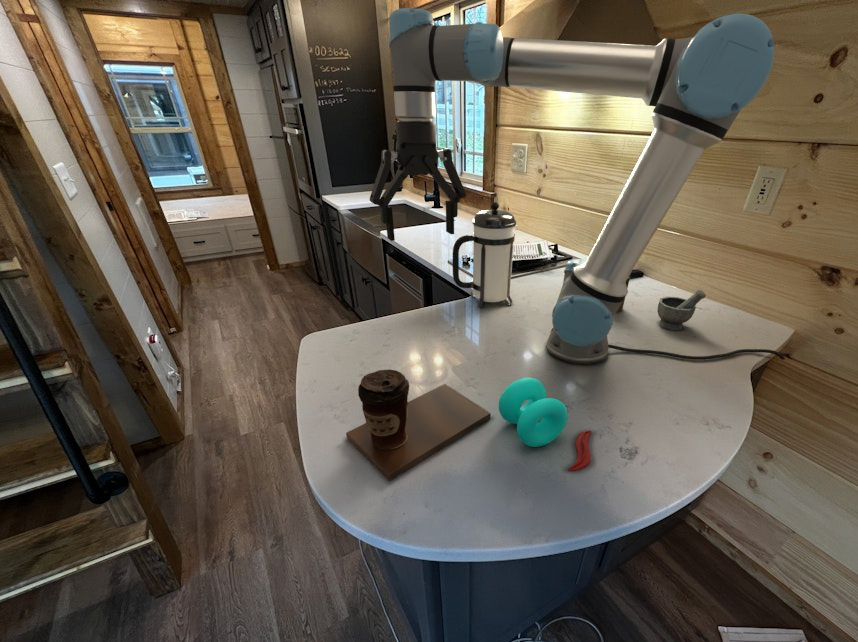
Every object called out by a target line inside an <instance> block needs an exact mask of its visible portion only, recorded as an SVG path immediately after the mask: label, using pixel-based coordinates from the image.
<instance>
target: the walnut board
mask: <svg viewBox="0 0 858 642" xmlns="http://www.w3.org/2000/svg"><path fill="white" fill-rule="evenodd" d="M407 402H408V418H407V420H406V426H405V431H406V433H407V436H408V437H407V440H406V442H405V444H403V445H401V446H399V447H398V448H393V449H380V448H378V447H376V446H374V445H373V443H372V439H371V432H370V431H369V430H368V428H367V425H366V422H365V423H363V424H361V425H359V426H357V427H355V428H353V429H351V430H348V431H347V432H345V434H346V439H347V440H348V441H349V442H350V443H351V444H352V445H353V447H355V449H356V450H358V451H359V452H360V453H361V454H362V455H363V457H365V458H366V460H368V461H369V462H370V463H371V464H372V465H373V466H374V467H375V468H376V469H377V470H378V471H379V472H380V473H381V474H382V475H383V477H385V478H386V479H387V480H388V481H392V480H393V479H395V478H396V477H399V476H400V475H401V474H404V473H405V472H407V471H408V470H410V469H411V468H413V467H415V466H416V465H418V464H419V463H422V462H423V461H424V460H426V459H427V458H430V457H431V456H432V455H434V454H436V453H437V452H439V451H441V450H442V449H444V448H445V447H447V446H448V445H450V444H451V443H453V442H455V441H457V440H458V439H461V438H462V437H463V436H465V435H467V434H468V433H469V432H471V431H474V430H475V429H477V428H479V426H481V425H483V424H484V423H486V422H488V421H489V420H491V412H490V411H488V410H486V409H485V408H484V407H482V406H480V404H477V403H475V402H474V401H473V400H471V399H470V398H468V397H466V396H465V395H463V394H462V393H461V392H458V391H457V390H455V389H454V388H452V387H451V386H449V385H447V383H444V384H441V385H439V386H437V387H436V388H433V389H431V390H430V391H427V392H425V393H424V394H422V395H419V396H417V397H415V398H413V399H411V400H409V401H407Z"/></svg>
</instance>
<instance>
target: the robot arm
mask: <svg viewBox="0 0 858 642" xmlns="http://www.w3.org/2000/svg"><path fill="white" fill-rule="evenodd" d="M388 19H389V20H388V23H389V24H388V25H389V27H388V28H389V30H388V31H389V42H388V45H389V47H388V48H389V50H390V59H391V61H390V62H391V73H392V83H393V87H392V88H393V89H392V90H393V102H394V115H395V117H396V119H397V118H398V121H396V123H395V131H396V145H397V148H396V151H390V150H388V149H383V150H381V163H380V165H379V168H378V172H377V175H376V178H375V181H374V183H373V187H372V190H371V193H370V196H369V202H371V203H372V204H373V205H376V206H379V213H380V221H381V223H383V224H384V225H385V226H386V236H387V239H388V240H389V241H391V242H394V241H396V237H395V227H394V216H393V215H394V214H393V207H392V206H391V205H389V204H390V203H391V202H392V199H394V197H395V195H396V193H397V192H398V190H399V189H400V188H401V186H402V185H403V183H404V182H405V180H406V179H407V178H408V177H409V175H410V176H412V177H417V176H419V175H421V176H428V175H430V176H431V177H432V179H433V180H434V181H435V183H436V184H437V185H438V186H439V187H440V189H441V190H442V191H443V193H444V194H445V195H446V196H447V198H448V199H449V200H445V232H446V233H448V234H449V235H455V218H458V214H459V212H458V211H459V210H458V209H459V207H458V205H459V202H460V201H461V199H465V198H466V197H467V192H466V190H465V188H464V186H463V183H462V181H461V179H460V178H461V177H460V176H459V173H458V171H457V169H456V166H455V163H454V162H453V153H452V150H451V149H450V148H446V147H445V148H442V149H440V150H438V149H437V124H436V123H435V121H433V120H434V119H435V118H436V115H437V114H436V113H437V112H436V93H435V92H436V81H437V82H444V81H445V82H468V83H472V84H479V85H480V86H483V87H488V88H494V87H500V88H501V87H502V88H516V89H528V90H529V89H530V90H540V91H552V92H562V93H575V94H587V95H597V96H609V97H620V98H631V99H641V100H642V101H643V102H644V104H645V105H646V106H647V107H654V109H653V110H652V113H651V115H650V116H651V119H652V123H653V131H652V133H651V135H650V137H649V139H648V141H647V143H646V145H645V147H644V149H643V151H642V153H641V154H640V156H639V158H638V160H637V162H636V164H635V166H634V168H633V170H632V172H631V174H630V176H629V177H628V179H627V181H626V183H625V184H624V187H623V189H622V192H621V193H620V195H619V197H618V198H617V201H616V202H615V204H614V206H613V208H612V210H611V212H610V214H609V216H608V218H607V220H606V222H605V224H604V225H603V227H602V230H601V232H600V233H599V236H598V238H597V239H596V241H595V243H594V245H593V248H592V249H591V251H590V253H589V255H588V256H587V258H574V259H570V260H568V261H567V262H566V264H565V269H564V270H563V273H564V274H563V280H562V287H561V289H560V292H559V295H558V298H557V300H556V303H555V305H554V306H553V309H552V314H551V324H552V328H551V329H550V333H549V335H548V338H547V342H546V349H547V351H548V352H549V353H550V354H551V355H552V356H553V357H554V358H556V359H559V360H560V361H563V362H565V363H570V364H575V365H592V364H597V363H600V362H602V361H603V360H605V359H606V358H607V356H608V352H609V349H614V350H619V351H623V352H628V353H637V354H638V353H639V354H651V355H652V354H653V355H661V356H668V357H673V358H677V359H678V358H679V359H685V360H692V361H693V360H695V361H696V360H697V361H699V360H700V361H701V360H703V361H704V360H713V359H720V358H726V357H731V356H734V355H737V354H742V353H765V354H766V353H767V354H771V355H775V356H777V357H778V358H779V359H781V360H783V361H785V360H786V358H785V356H784V355H783V354H782V353H780V352H779V351H776V350H773V349H766V348H765V349H764V348H741V349H737V350H733V351H729V352H725V353H719V354H712V355H702V356H701V355H699V356H697V355H686V354H679V353H673V352H669V351H662V350H654V349H653V350H652V349H641V348H639V349H638V348H630V347H629V348H628V347H623V346H619V345H614V344H610V343H609V340H608V334H610V331H611V330H612V326H613V324H614V323H613V322H614V319H613V318H614V316H615V315H616V313H617V312H616V311H617V310H618V308H619V307H620V305H621V303H622V302H623V300H624V298H625V299H626V297H627V295H628V294H629V290H628V288H627V286H626V280H627V278H628V277H629V275H630V273H631V274H632V271H633V270H634V269H635V267H636V265H637V263H638V262H639V260H640V258H641V257H642V255H643V253H644V252H645V250H646V249H647V247H648V245H649V243H650V242H651V240H652V238H653V237H654V235H655V233H656V232H657V231H658V229H659V227H660V225H661V223H662V221H664V218H665V217H666V215H667V213H669V212H668V211H669V210H670V208H671V207H672V205H673V203H674V202H675V200H676V198H677V196H678V195H679V193H680V192H681V190H682V188H683V187H684V185H685V183H686V182H687V180H688V178H689V176H690V175H691V173H692V172H693V170H694V168H695V167H696V165H697V163H698V162H699V160H700V159H701V156H702V155H703V153H704V152H705V150H707V149H708V148H711V147H713V146H716V145H717V144H720V143H721V142H722V141H723V140H724V138H725V136H726V134H727V133H728V132H729V130H730V128H731V127H732V125H733V123H734V122H735V120H736V118H737V117H738V116H739V113H740V112H741V111H742V110H743V109H744V108H745V107H746V106H748V105H749V104H750V103H751V102H752V101H753V100H754V99H755V97H756V96H757V95H758V94H759V93H760V91H761V90H762V88H763V87H764V85H765V84H766V82H767V80H768V78H769V77H770V73H771V71H772V68H773V64H774V60H775V42H774V37H773V35H772V32H771V30H770V29H769V27H768V25H767V24H766V23H765V22H764V21H763V20H761V19H760V18H759V17H757V16H755V15H752V14H748V13H732V14H728V15H723V16H720V17H718V18H716V19H713V20H711V21H709V22H708V23H706V24H705V25H704V26H702V27H701V28H699V30H698V31H697V32H696V33H695V34H694V35H693V36H691V37H685V38H663V39H662V40H661V41H660V42H659V43H658V44H657V45H648V44H629V43H615V42H614V43H612V42H595V41H594V42H593V41H579V40H577V41H574V40H557V39H541V38H540V39H539V38H524V37H507V36H503V34H502V29H501V28H500V26H499V25H497V24H496V23H485V22H484V23H483V22H481V21H479V22H478V21H475V23H463V24H450V25H449V24H447V25H446V24H445V25H439V24H438V25H437V24H435V22H434V17H433V14H432V12H430V11H428V10H426V9H422V8H409V7H404V8H403V7H402V8H397V9H395V10H393V11H391V13H390V14H389V18H388ZM438 159H439V160H440V162H442V164H443V167H444V170H445V171H446V174H447V176H448V178H449V181H450V183H451V185H452V187H453V188H452V187H451V185H450V184H449V183H448V182H447V180H446V179H445V178H444V176H443V174H442V173H441V171H440V169H439V168H438V167H437V165H436V163H437V161H438ZM395 160H397V162H398V163H399V167H398V168H397V170H396V173H395V174H394V176H393V178H392V179H391V180H390V182H389V184H388V186H387V187H386V189H385V190H384V188H385V185H386V182H387V179H388V176H389V173H390V171H391V167H392V165H393V164H394V163H395ZM383 191H384V192H383ZM630 276H631V275H630Z"/></svg>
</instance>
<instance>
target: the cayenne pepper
mask: <svg viewBox="0 0 858 642" xmlns="http://www.w3.org/2000/svg"><path fill="white" fill-rule="evenodd" d="M592 433H593V432H592V431H591V430H585V431H582V432H579V433H578V435H577V436H576V440H575V450H576V456H577V457H576V461H575V463H574V464H573V465H571V466H570V467H568V468H567V471H568V472H575V471H580V470H583V469H585V468H587V467H588V466H589V465H590V464H591V457H592V455H591V452H590V449H589V440H590V437H591V435H592Z"/></svg>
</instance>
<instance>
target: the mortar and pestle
mask: <svg viewBox="0 0 858 642" xmlns="http://www.w3.org/2000/svg"><path fill="white" fill-rule="evenodd" d="M706 297H707V294H706V293H705V291H704V290H702V289H696V291H695V292H694V293H693V294H692V295H691V296H690V297H688V298H687V299H686V298H682V297H679V296H664V297H660V298H659V301H658V304H657V315H658V317H659V319H660V321H659V324H658V325H659V326H661V327H662V328H664V329H667V330H670V331H679V330H682V328H683V324H684V323H686V322H689V321H690V320H691V319H692V317H693V316H694V314H695V311H696V306H697V304H698V303H699V302H700V301H702V300H703V299H705V298H706Z"/></svg>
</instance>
